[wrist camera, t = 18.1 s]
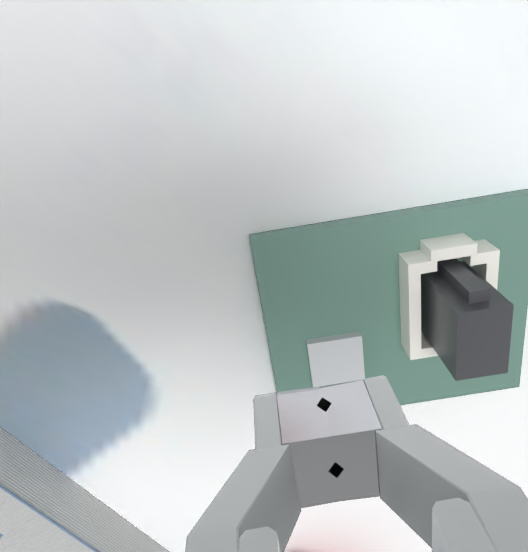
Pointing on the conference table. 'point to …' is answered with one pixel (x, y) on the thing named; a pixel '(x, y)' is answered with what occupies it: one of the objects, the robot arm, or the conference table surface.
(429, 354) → the board
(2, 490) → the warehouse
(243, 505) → the robot arm
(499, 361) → the plug
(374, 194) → the conference table surface
